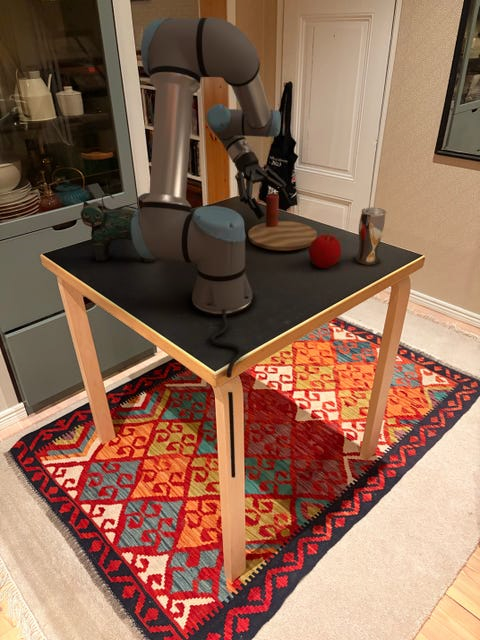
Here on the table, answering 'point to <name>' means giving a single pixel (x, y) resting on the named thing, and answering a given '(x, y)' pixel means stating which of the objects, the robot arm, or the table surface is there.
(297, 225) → the wooden round stand
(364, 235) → the beer glass
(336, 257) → the fruit
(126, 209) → the ceramic cat
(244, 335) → the table surface
